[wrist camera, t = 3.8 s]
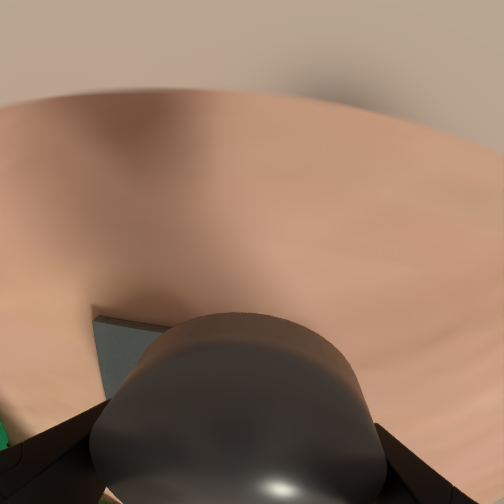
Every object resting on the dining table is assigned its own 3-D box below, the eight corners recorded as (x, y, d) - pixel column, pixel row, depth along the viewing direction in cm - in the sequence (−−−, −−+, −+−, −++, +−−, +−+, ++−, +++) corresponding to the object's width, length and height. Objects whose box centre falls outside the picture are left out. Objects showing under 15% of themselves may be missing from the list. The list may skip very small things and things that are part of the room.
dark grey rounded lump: (325, 438, 11) (341, 546, 6) (164, 423, 12) (122, 523, 6) (361, 288, 10) (434, 388, 4) (153, 271, 10) (57, 352, 5)
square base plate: (288, 466, 24) (289, 516, 18) (122, 441, 25) (100, 483, 19) (314, 340, 21) (327, 393, 15) (98, 315, 22) (55, 352, 16)
